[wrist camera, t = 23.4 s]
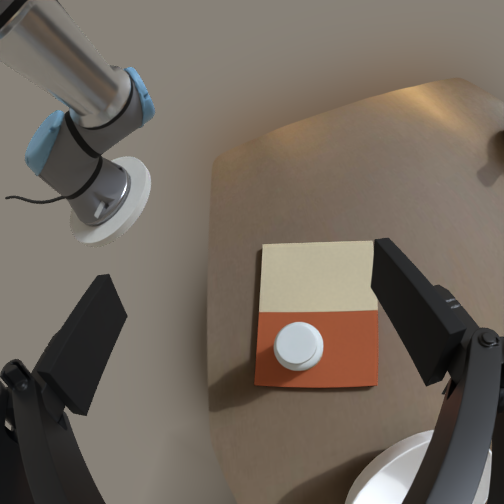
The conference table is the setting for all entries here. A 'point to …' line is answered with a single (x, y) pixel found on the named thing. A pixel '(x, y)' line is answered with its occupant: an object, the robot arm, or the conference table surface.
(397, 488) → the bowl
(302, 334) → the supplement bottle
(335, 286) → the sorting mat
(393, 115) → the conference table surface
